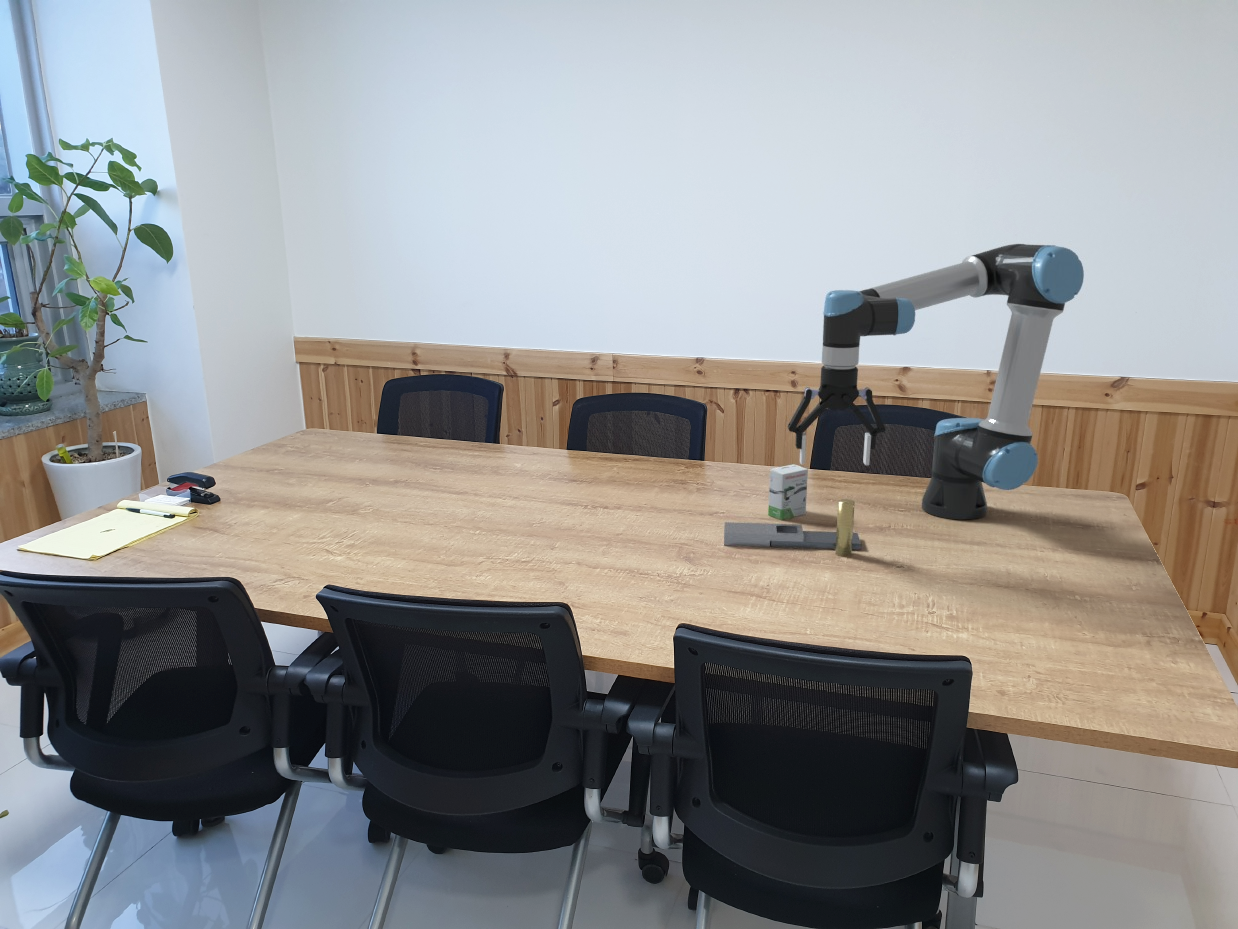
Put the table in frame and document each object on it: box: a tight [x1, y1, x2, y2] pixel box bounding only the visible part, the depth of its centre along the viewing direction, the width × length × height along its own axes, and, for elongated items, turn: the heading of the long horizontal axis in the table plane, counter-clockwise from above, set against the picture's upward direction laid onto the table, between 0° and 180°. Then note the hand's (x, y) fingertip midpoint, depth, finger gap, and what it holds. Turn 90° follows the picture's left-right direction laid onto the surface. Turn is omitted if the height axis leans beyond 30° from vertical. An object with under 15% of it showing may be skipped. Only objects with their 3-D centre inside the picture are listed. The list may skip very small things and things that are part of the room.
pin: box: [834, 498, 855, 558], centre depth 197 cm, size 3×3×12 cm
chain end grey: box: [723, 521, 804, 548], centre depth 206 cm, size 18×7×3 cm, turn 82°
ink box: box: [767, 463, 809, 521], centre depth 222 cm, size 9×5×12 cm, turn 123°
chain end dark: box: [770, 530, 862, 551], centre depth 205 cm, size 20×7×2 cm, turn 82°
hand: (834, 463), depth 196 cm, fingers open, 13 cm apart
